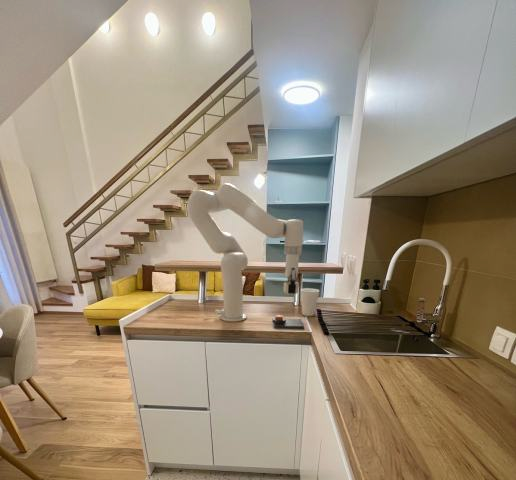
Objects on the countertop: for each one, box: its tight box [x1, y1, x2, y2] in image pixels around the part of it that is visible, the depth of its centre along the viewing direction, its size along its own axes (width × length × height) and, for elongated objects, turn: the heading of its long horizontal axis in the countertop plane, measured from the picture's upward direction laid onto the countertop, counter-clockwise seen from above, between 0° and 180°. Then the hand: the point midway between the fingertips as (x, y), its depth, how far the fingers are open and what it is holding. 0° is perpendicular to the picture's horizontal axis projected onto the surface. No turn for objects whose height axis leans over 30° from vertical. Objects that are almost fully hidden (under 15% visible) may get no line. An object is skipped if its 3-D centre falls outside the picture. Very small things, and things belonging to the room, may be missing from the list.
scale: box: [272, 316, 305, 330], centre depth 131 cm, size 14×11×3 cm
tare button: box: [275, 314, 284, 320], centre depth 131 cm, size 3×3×2 cm
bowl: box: [283, 281, 300, 295], centre depth 127 cm, size 7×7×5 cm
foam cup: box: [300, 287, 320, 317], centre depth 147 cm, size 10×9×13 cm
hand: (290, 291), depth 128 cm, fingers closed on bowl, 6 cm apart
